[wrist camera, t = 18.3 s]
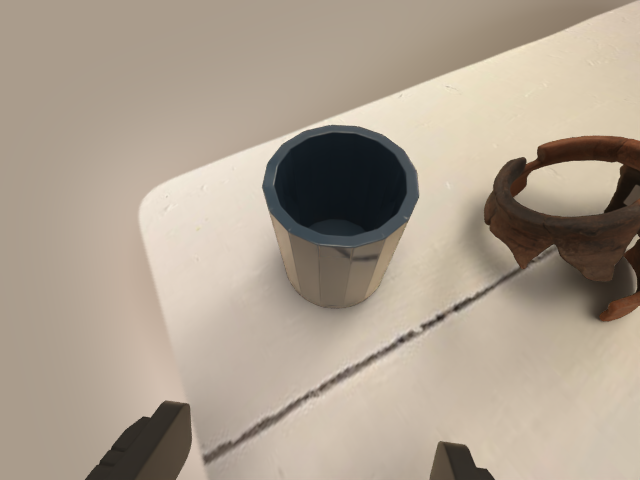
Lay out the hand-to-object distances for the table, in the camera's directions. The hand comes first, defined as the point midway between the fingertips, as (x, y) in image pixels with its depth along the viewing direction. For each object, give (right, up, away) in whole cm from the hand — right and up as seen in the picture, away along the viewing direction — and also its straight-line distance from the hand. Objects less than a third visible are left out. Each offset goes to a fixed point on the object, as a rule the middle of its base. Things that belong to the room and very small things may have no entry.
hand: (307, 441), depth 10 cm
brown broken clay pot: (+16, +6, +10) cm, 20 cm away
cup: (+1, +5, +10) cm, 11 cm away
